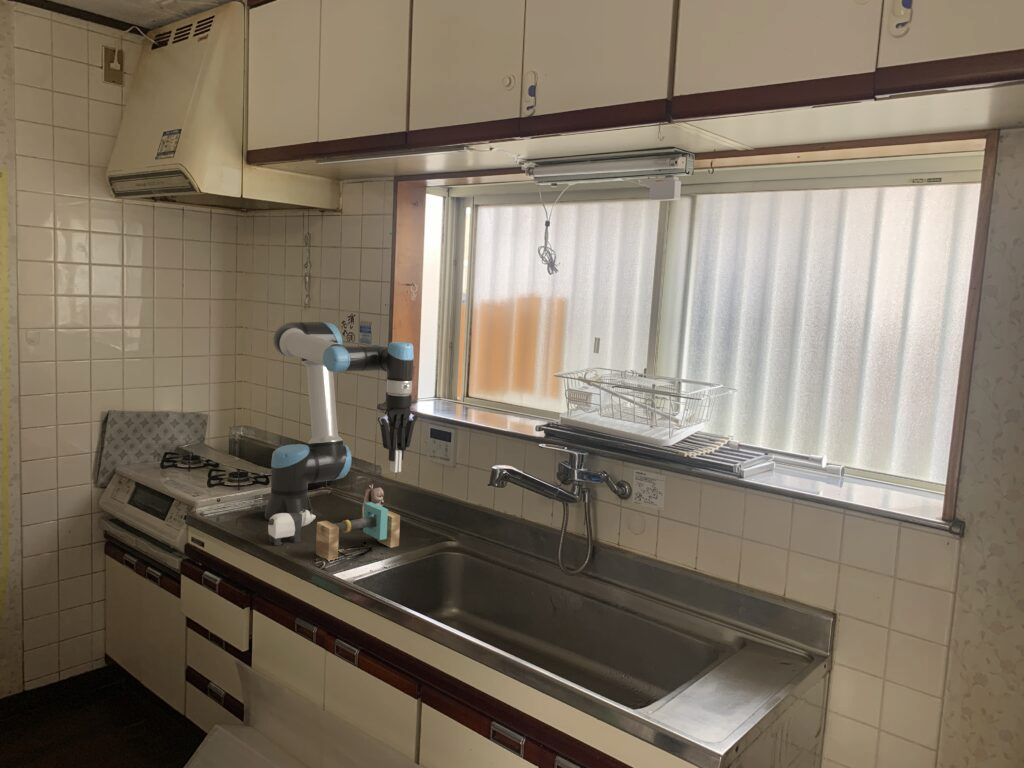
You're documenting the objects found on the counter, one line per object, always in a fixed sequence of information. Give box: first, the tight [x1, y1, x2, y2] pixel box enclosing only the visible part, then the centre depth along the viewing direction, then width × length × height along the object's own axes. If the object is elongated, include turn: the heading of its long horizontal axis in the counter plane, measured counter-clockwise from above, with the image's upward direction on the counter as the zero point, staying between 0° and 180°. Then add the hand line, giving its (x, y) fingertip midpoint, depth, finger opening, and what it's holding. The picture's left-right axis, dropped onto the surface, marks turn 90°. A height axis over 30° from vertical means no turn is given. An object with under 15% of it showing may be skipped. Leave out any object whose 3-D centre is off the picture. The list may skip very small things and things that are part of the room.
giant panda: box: [267, 508, 317, 546], centre depth 233 cm, size 15×6×10 cm, turn 130°
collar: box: [362, 501, 389, 541], centre depth 232 cm, size 2×9×9 cm, turn 43°
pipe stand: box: [315, 509, 401, 562], centre depth 228 cm, size 24×7×10 cm, turn 133°
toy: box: [361, 483, 386, 518], centre depth 251 cm, size 9×8×15 cm
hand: (395, 471), depth 234 cm, fingers closed
